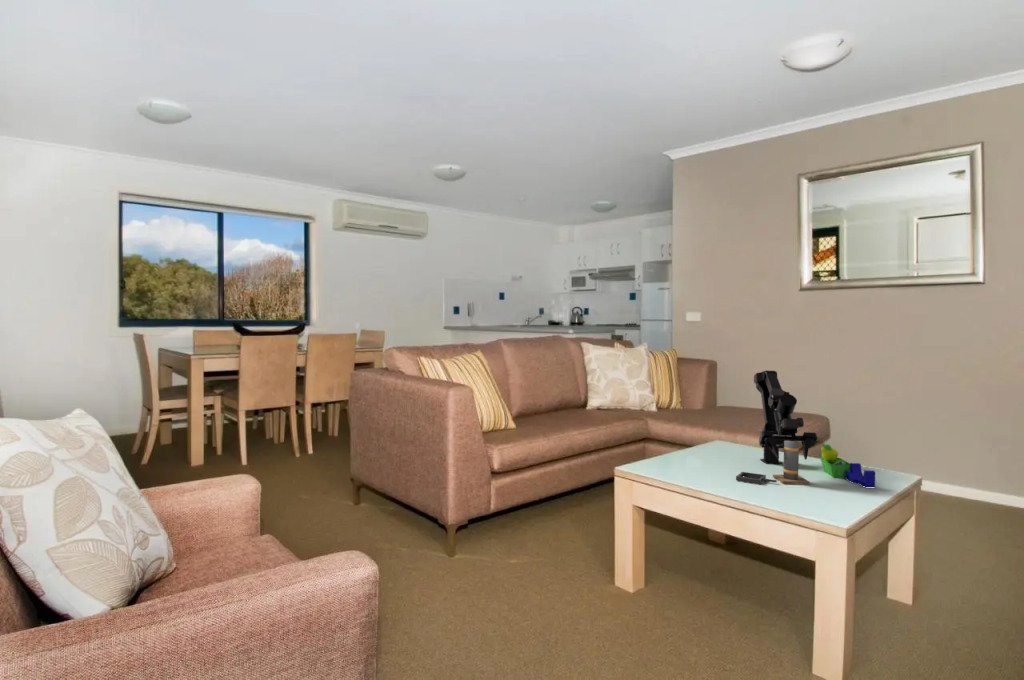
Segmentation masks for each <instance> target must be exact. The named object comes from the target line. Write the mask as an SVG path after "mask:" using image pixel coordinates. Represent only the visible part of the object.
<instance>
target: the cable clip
mask: <svg viewBox="0 0 1024 680" xmlns="http://www.w3.org/2000/svg"><path fill="white" fill-rule="evenodd" d="M849 463H850V471H846V476H845V478H846V479H845V480H847V479H848V480H847V481H849V482H850V481H851V482H850V483H852V482H853V483H852V484H858V483H859V484H861V485H862V486H861V485H860V486H861V487H863V486H865V487H875V488H876V471H875V470H870V469H869V470H866V469H865V470H863V472H862V464H861V463H858V462H849ZM859 484H858V485H859ZM865 487H864V488H865Z"/></svg>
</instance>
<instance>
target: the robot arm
mask: <svg viewBox="0 0 1024 680" xmlns="http://www.w3.org/2000/svg"><path fill="white" fill-rule="evenodd" d="M753 383H754V384H755V388H756V390H757V391H758V392H759V393H760V395H761V402H762V403H761V405H762V411H763V418H764V419H763V421H764V426H763V428H762V430H761V431H760V434H759V435H760V436H759V438H758V439H759V440H758V444H759V446H760V447H761V448H762V449H763V458H760V461H762V462H763V463H765V464H774V465H775V464H778V465H779V464H780V465H782V464H783V462H782V461H781V460H780V449H784V441H797V442H799V443H801V445H802V446H801V449H802V450H801V451H802V455H803V458H804V460H806V461H807V459H808V453H809V449H811V448H813V447H815V446H816V443H817V442H818V441H817V440H818V435H817V433H816V432H814V431H804V432H803V434H802V435H796V434H797V433H798V429H799V428H803V427H804V426H805V425H804V418H802V417H797V418H792V415H793V414H794V412H795V411H794V410H795V407H796V405H797V401H798V400H797V399H798V398H796V397H795V396H794V395H793V394H790V391H785V390H783V389H782V386H781V383H780V381H779V378H778V373H777V371H776V370H762V371H761V372H757V373H755V374H754V376H753Z"/></svg>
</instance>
